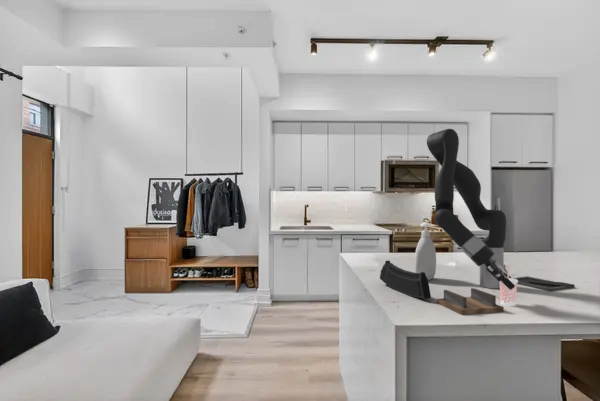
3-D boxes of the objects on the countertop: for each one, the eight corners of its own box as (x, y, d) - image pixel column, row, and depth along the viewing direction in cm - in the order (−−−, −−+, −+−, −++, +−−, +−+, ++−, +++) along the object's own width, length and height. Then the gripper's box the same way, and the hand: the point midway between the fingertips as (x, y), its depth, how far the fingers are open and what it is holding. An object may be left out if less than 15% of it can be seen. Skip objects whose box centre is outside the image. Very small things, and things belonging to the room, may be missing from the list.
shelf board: (475, 300, 137) (475, 287, 137) (503, 311, 124) (503, 296, 124) (436, 302, 134) (436, 289, 134) (461, 314, 120) (461, 299, 120)
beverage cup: (509, 301, 136) (509, 263, 136) (522, 306, 130) (522, 266, 129) (494, 302, 135) (494, 264, 134) (506, 307, 129) (506, 267, 128)
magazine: (435, 278, 134) (391, 245, 161) (428, 279, 133) (384, 245, 160) (426, 319, 139) (384, 280, 166) (419, 320, 138) (378, 281, 165)
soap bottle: (425, 283, 165) (425, 223, 165) (410, 280, 172) (410, 222, 172) (443, 279, 174) (443, 222, 174) (428, 276, 180) (428, 221, 180)
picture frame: (574, 289, 157) (527, 279, 176) (574, 284, 157) (527, 275, 176) (550, 292, 151) (503, 282, 170) (550, 288, 151) (503, 278, 170)
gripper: (482, 246, 130) (521, 283, 124) (487, 242, 142) (522, 276, 136) (466, 259, 133) (503, 297, 126) (472, 254, 145) (506, 288, 139)
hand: (513, 286), depth 131 cm, fingers closed on beverage cup, 6 cm apart
